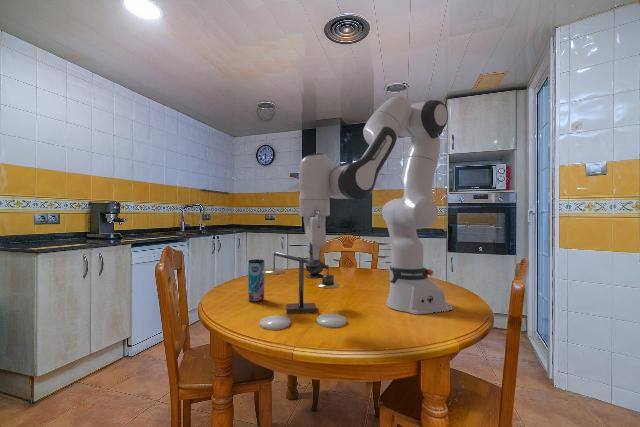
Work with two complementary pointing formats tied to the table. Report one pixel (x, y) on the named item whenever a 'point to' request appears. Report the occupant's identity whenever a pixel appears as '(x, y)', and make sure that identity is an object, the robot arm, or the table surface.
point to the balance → (302, 284)
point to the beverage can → (255, 280)
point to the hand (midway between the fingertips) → (315, 258)
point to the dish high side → (275, 322)
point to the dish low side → (331, 320)
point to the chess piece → (314, 266)
